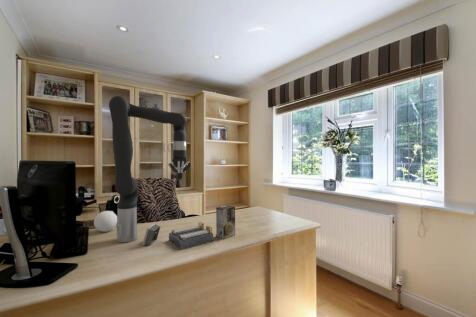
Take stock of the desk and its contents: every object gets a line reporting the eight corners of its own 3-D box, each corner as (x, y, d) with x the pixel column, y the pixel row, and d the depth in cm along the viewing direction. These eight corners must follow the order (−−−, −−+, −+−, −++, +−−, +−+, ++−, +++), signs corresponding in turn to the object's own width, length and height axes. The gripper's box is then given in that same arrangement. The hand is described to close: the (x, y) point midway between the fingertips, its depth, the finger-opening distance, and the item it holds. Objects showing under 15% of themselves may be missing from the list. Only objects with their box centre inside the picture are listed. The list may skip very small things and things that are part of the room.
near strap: (182, 239, 111) (182, 237, 111) (179, 237, 113) (179, 235, 113) (208, 233, 120) (208, 231, 120) (205, 231, 122) (205, 229, 122)
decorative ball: (121, 230, 138) (121, 210, 138) (99, 236, 128) (99, 214, 128) (111, 226, 145) (111, 207, 145) (90, 232, 135) (90, 211, 135)
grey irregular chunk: (150, 239, 123) (151, 222, 123) (159, 240, 123) (161, 223, 122) (141, 246, 114) (143, 227, 113) (152, 247, 113) (153, 228, 113)
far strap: (174, 234, 118) (174, 232, 118) (172, 233, 120) (172, 230, 120) (200, 229, 127) (200, 227, 127) (198, 227, 129) (198, 225, 129)
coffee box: (228, 232, 134) (227, 204, 134) (235, 235, 129) (235, 206, 129) (215, 236, 127) (215, 207, 127) (223, 239, 123) (223, 209, 123)
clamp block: (180, 249, 109) (180, 235, 109) (168, 240, 121) (168, 227, 121) (213, 241, 120) (213, 227, 120) (199, 233, 132) (199, 221, 132)
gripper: (170, 149, 125) (170, 180, 125) (193, 149, 133) (192, 179, 133) (166, 149, 131) (165, 179, 131) (187, 149, 139) (187, 178, 139)
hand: (179, 179), depth 132 cm, fingers closed
